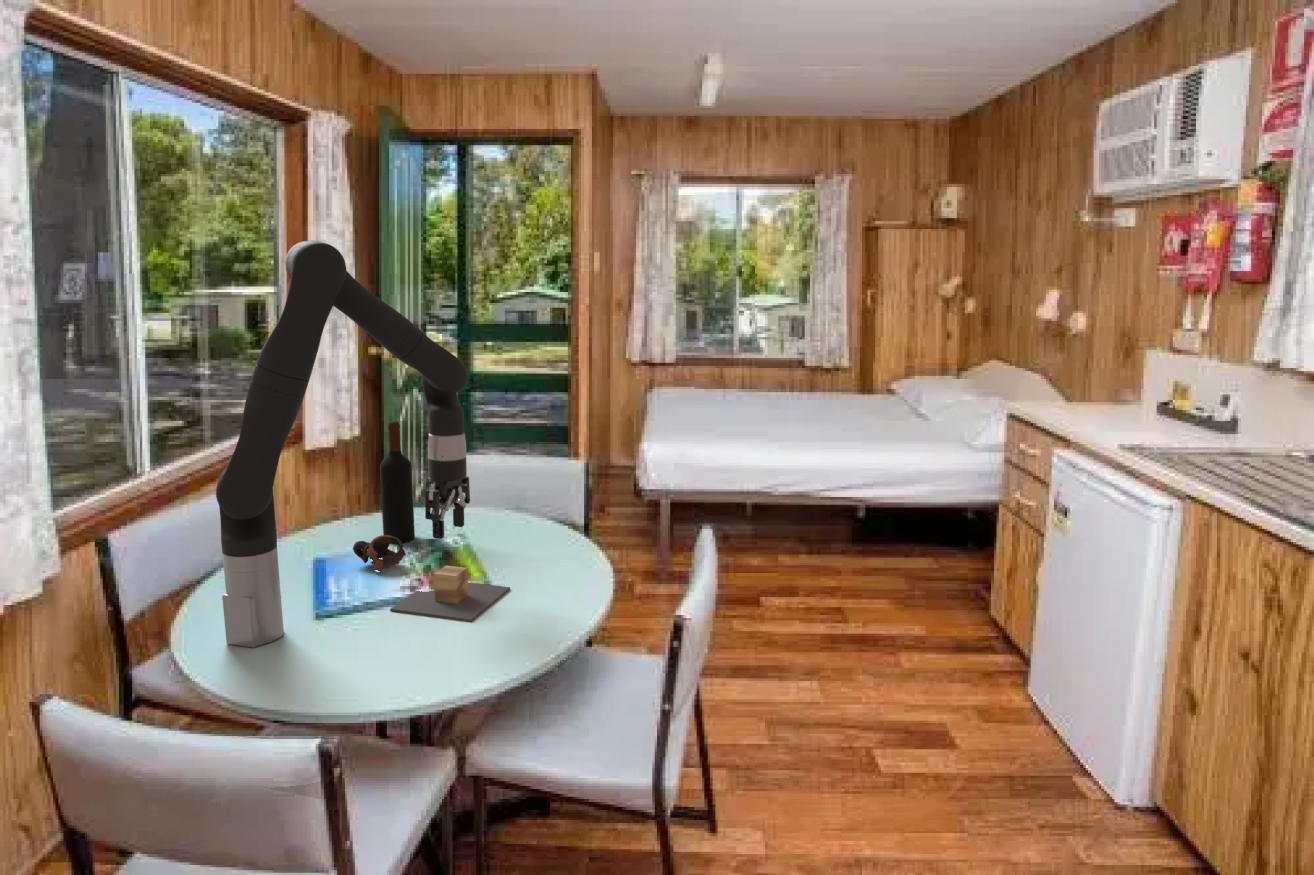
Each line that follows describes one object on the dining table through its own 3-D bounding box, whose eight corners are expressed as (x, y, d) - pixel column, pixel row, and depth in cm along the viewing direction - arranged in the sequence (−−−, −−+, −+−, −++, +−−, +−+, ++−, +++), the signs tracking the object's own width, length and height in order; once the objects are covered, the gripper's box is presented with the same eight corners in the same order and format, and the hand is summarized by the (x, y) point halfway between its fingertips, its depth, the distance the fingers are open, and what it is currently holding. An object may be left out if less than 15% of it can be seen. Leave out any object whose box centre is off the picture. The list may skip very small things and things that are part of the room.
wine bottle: (377, 542, 223) (371, 423, 217) (394, 533, 230) (388, 418, 224) (404, 545, 221) (398, 425, 215) (420, 536, 228) (415, 420, 222)
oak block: (456, 603, 184) (455, 576, 182) (434, 601, 185) (433, 573, 184) (468, 595, 188) (467, 567, 187) (446, 592, 190) (445, 565, 188)
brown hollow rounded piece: (407, 559, 212) (411, 535, 207) (396, 589, 205) (400, 565, 200) (356, 547, 211) (359, 523, 206) (343, 577, 203) (346, 553, 198)
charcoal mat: (471, 621, 176) (471, 619, 176) (390, 611, 181) (390, 608, 181) (510, 589, 193) (510, 587, 193) (435, 580, 198) (435, 578, 198)
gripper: (446, 464, 173) (448, 544, 176) (480, 449, 186) (481, 524, 190) (412, 460, 175) (414, 540, 178) (447, 446, 188) (449, 520, 192)
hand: (449, 532), depth 184 cm, fingers open, 8 cm apart
